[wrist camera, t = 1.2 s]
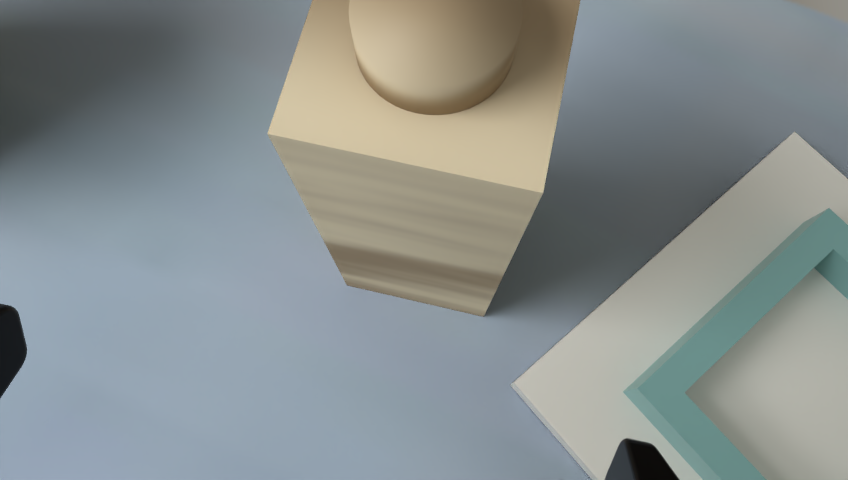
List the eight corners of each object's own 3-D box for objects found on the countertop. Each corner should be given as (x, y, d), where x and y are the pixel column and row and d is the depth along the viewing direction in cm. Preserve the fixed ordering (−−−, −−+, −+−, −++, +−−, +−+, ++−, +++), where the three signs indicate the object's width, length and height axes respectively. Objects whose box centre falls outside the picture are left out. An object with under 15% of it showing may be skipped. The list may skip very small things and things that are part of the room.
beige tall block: (483, 316, 23) (554, 169, 10) (346, 285, 23) (252, 105, 10) (510, 188, 24) (601, -80, 12) (381, 160, 24) (334, -128, 12)
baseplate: (834, 759, 19) (894, 806, 16) (510, 384, 22) (520, 378, 19) (1104, 436, 21) (1190, 435, 19) (780, 143, 24) (818, 112, 22)
